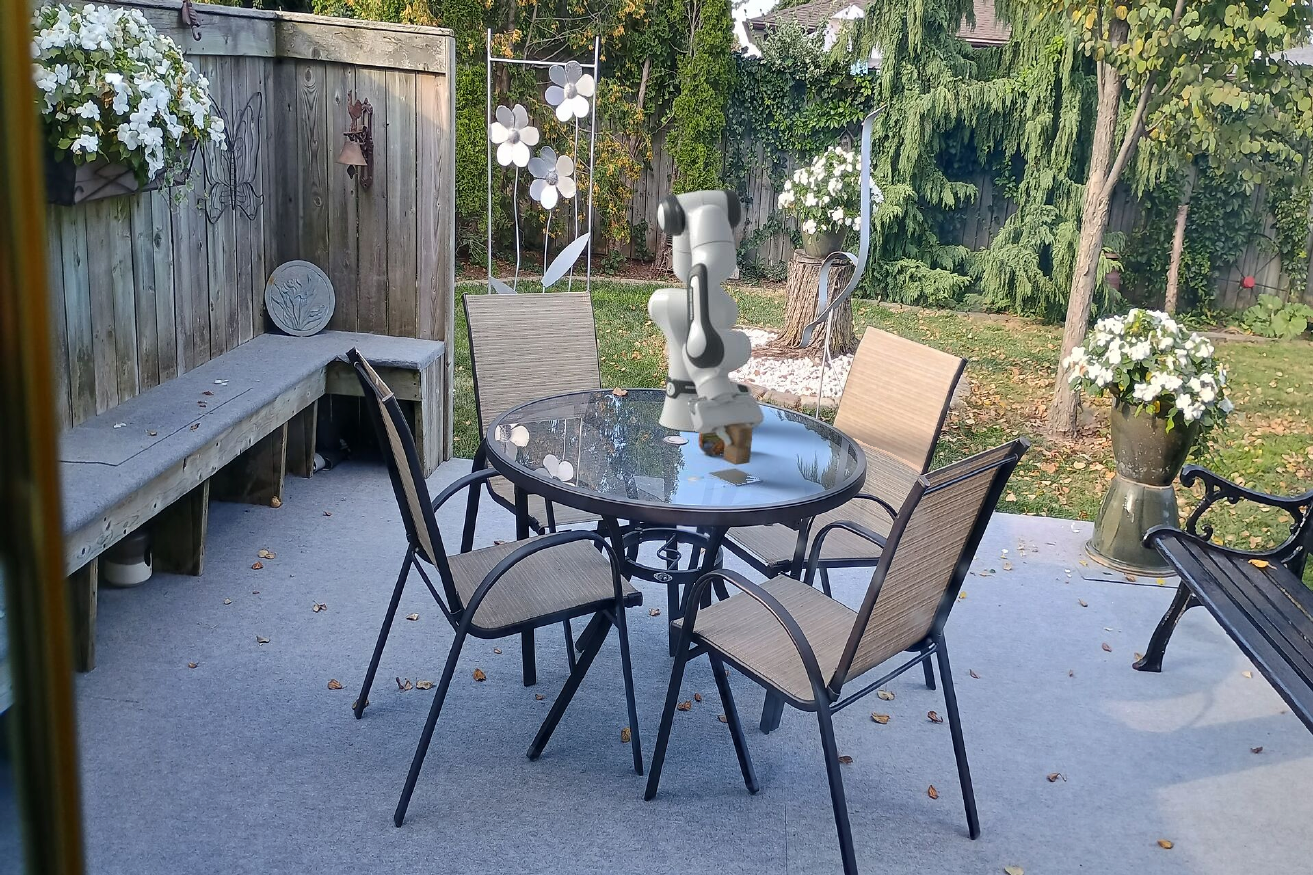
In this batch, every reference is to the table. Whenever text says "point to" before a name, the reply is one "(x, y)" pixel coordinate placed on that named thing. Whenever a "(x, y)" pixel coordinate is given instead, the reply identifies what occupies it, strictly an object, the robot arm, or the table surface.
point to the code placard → (693, 479)
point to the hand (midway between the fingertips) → (739, 443)
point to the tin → (711, 443)
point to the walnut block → (738, 444)
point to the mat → (733, 476)
